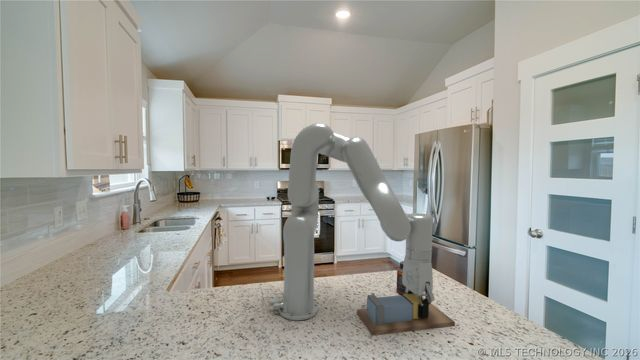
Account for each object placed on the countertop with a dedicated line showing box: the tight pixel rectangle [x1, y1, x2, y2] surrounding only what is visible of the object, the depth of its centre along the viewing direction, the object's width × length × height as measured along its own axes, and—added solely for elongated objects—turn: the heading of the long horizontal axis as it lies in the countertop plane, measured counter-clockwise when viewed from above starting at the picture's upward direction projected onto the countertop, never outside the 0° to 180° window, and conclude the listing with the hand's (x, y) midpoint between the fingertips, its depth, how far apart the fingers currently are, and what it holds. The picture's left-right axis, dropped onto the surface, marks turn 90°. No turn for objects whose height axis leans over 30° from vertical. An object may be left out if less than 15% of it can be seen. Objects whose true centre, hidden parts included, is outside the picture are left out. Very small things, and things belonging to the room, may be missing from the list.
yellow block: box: [403, 294, 425, 319], centre depth 83 cm, size 5×6×5 cm
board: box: [356, 302, 456, 336], centre depth 83 cm, size 26×12×1 cm, turn 102°
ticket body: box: [366, 294, 413, 326], centre depth 81 cm, size 12×8×6 cm, turn 102°
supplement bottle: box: [396, 260, 406, 295], centre depth 101 cm, size 6×6×11 cm
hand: (416, 311), depth 83 cm, fingers closed on yellow block, 5 cm apart
